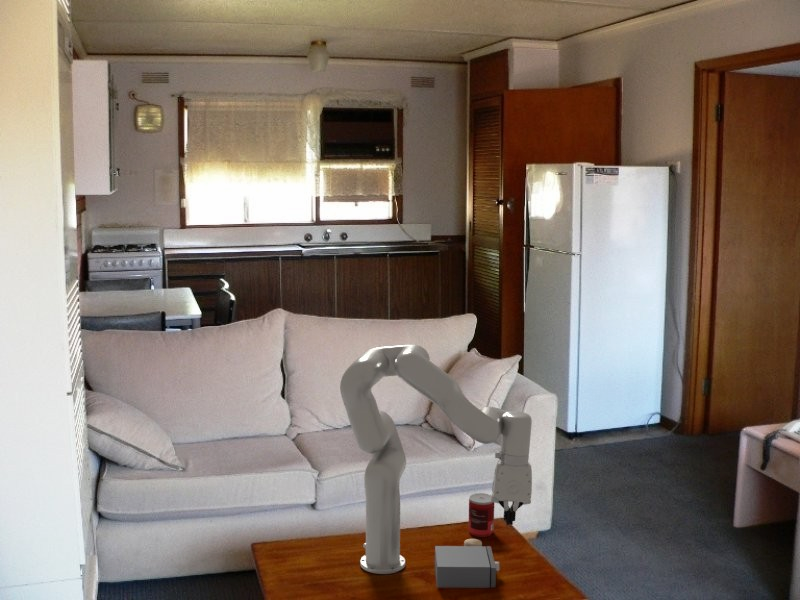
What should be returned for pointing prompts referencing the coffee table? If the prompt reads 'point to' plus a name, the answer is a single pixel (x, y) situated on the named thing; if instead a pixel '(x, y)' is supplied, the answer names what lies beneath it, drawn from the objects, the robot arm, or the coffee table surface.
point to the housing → (462, 566)
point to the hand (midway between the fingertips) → (508, 523)
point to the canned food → (481, 515)
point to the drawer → (492, 566)
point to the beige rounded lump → (472, 542)
